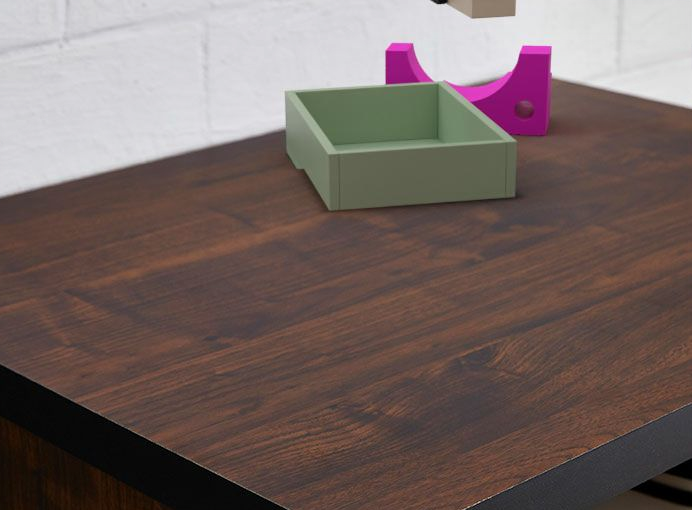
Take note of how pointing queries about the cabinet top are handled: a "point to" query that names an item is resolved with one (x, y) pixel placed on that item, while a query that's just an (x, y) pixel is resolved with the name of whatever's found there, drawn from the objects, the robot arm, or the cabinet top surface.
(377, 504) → the cabinet top surface
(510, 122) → the toy block
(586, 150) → the cabinet top surface
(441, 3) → the robot arm
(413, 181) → the bin
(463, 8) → the long cream beam
